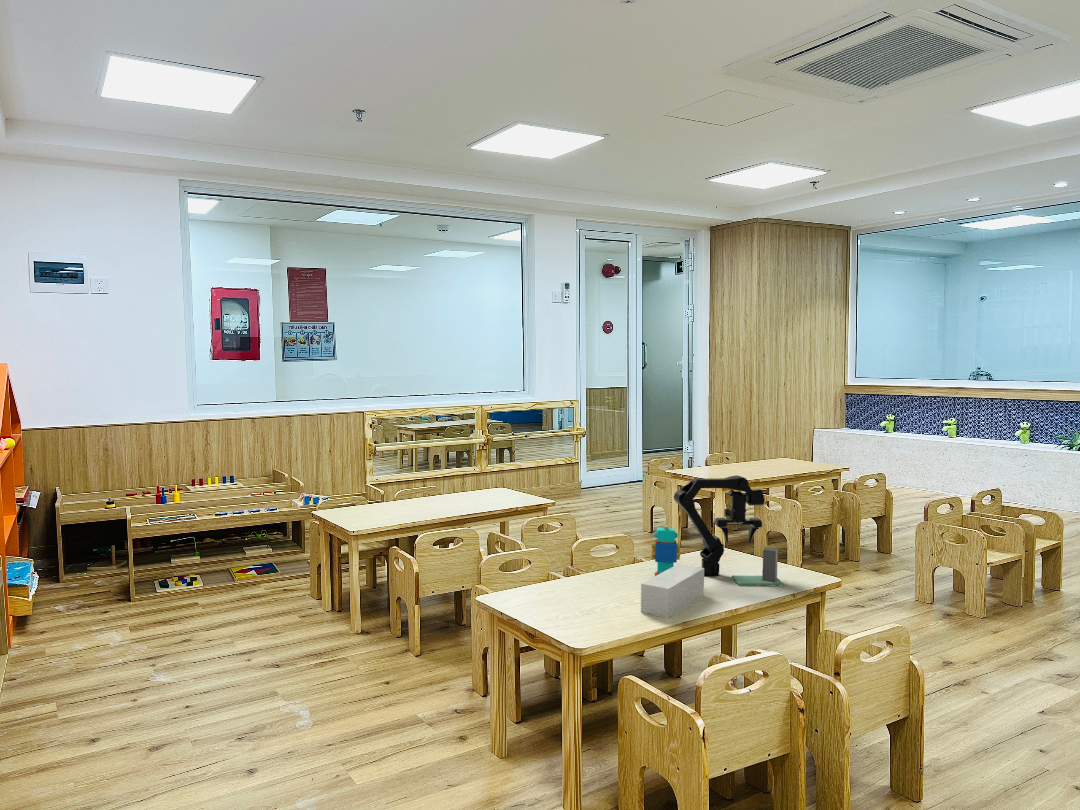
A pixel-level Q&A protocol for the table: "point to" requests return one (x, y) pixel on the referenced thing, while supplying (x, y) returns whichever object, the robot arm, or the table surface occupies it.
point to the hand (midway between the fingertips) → (737, 542)
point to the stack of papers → (672, 590)
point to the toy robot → (665, 549)
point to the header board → (753, 580)
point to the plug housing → (770, 564)
